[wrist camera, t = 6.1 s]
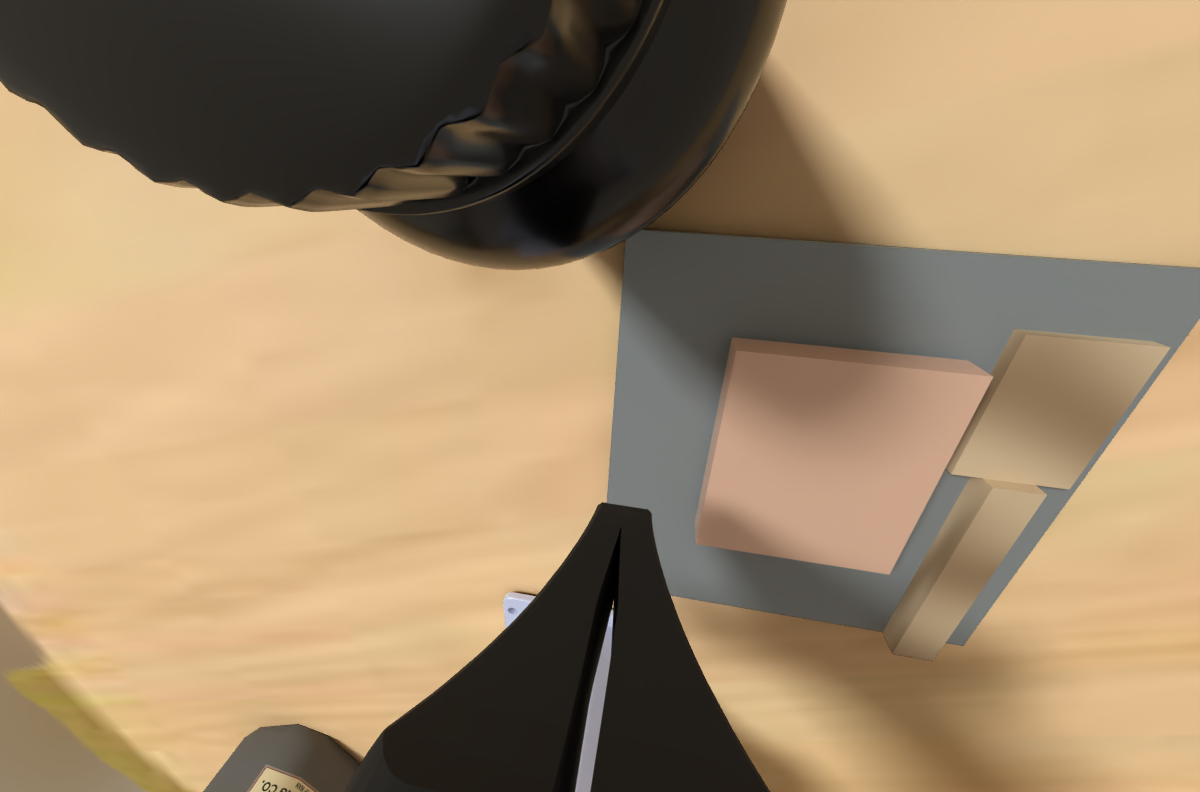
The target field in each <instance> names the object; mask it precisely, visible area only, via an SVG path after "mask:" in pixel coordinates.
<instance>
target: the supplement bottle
mask: <svg viewBox="0 0 1200 792" xmlns="http://www.w3.org/2000/svg"><path fill="white" fill-rule="evenodd" d="M786 2H787V0H0V82H1V83H2V84H3V85H4V86H5V87H6V88H7V89H8V91H10V92H12V93H14V94H15V95H17V96H19V97H21V98H23V99H25V100H27V101H29V102H32V103H36V104H38V105H40V106H42V107H44V108H45V109H46V110H47V111H48V112H49V113H50V114H51V115H52V116H53V117H54V118H55V119H56V120H57V121H58V122H59V123H60V124H61V125H62V126H63V127H64V128H65V129H66V130H67V131H68V132H69V133H71V134H72V135H73V136H74V137H75V138H76V139H77V140H78V141H79V142H80V143H81V144H82V145H84V146H87V147H90V148H93V149H97V150H100V151H103V152H108V153H113V154H118V155H119V156H121V157H122V158H124V159H125V160H126V161H128V162H129V163H130V164H131V165H132V166H133V167H134V168H135V169H137V170H138V171H139V172H141V173H142V174H144V175H145V176H146V177H148V178H149V179H151V180H152V181H154V182H156V183H160V184H164V185H169V186H174V187H181V188H198V189H200V190H201V191H202V192H204V193H205V194H207V195H209V196H211V197H213V198H215V199H217V200H219V201H221V202H224V203H228V204H233V205H238V206H245V207H270V206H286V207H289V208H293V209H298V210H303V211H310V212H324V211H338V210H351V209H357V210H358V211H360V212H361V213H362V214H364V215H365V216H367V217H368V218H369V219H371V220H372V221H374V222H375V223H377V224H378V225H379V226H381V227H382V228H384V229H385V230H387V231H389V232H391V233H392V234H394V235H396V236H397V237H399V238H401V239H403V240H404V241H406V242H408V243H410V244H413V245H415V246H417V247H419V248H421V249H423V250H425V251H427V252H430V253H432V254H435V255H438V256H441V257H443V258H446V259H449V260H453V261H456V262H460V263H464V264H468V265H473V266H479V267H486V268H492V269H505V270H526V269H541V268H546V267H552V266H558V265H563V264H566V263H570V262H573V261H577V260H581V259H584V258H586V257H589V256H591V255H594V254H596V253H599V252H601V251H604V250H606V249H609V248H611V247H613V246H614V245H616V244H618V243H620V242H622V241H624V240H626V239H628V238H630V237H631V236H633V235H634V234H636V233H637V232H639V231H640V230H642V229H643V228H645V227H646V226H648V225H649V224H651V223H652V222H653V221H655V220H656V219H657V218H658V217H659V216H661V215H662V214H663V213H664V212H666V211H667V210H668V209H669V208H670V207H671V206H673V205H674V204H675V203H676V202H677V201H678V200H679V199H680V198H681V197H682V196H683V195H684V194H685V193H686V192H687V191H688V190H689V189H690V188H691V186H692V185H693V184H694V183H695V182H696V181H697V179H698V178H699V177H700V176H701V175H702V174H703V172H704V171H705V170H706V169H707V168H708V166H709V165H710V164H711V162H712V161H713V159H714V158H715V157H716V155H717V154H718V152H719V151H720V150H721V148H722V147H723V145H724V144H725V142H726V141H727V139H728V137H729V136H730V134H731V132H732V131H733V129H734V127H735V126H736V124H737V122H738V121H739V119H740V117H741V116H742V114H743V112H744V110H745V108H746V106H747V104H748V101H749V99H750V97H751V95H752V93H753V91H754V89H755V87H756V85H757V83H758V81H759V78H760V75H761V73H762V70H763V68H764V65H765V63H766V60H767V58H768V55H769V53H770V50H771V48H772V45H773V43H774V40H775V37H776V34H777V30H778V27H779V24H780V21H781V18H782V15H783V11H784V8H785V5H786Z"/></svg>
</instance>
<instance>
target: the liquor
mask: <svg viewBox="0 0 1200 792" xmlns="http://www.w3.org/2000/svg"><path fill="white" fill-rule="evenodd" d="M359 765H360V764H359V763H358V762H357V761H356V760H355V759H354V758H352V757H351V756H350V755H349V754H348V753H347V752H346V751H344V750H343V749H342V748H341V747H340V746H339V745H337V744H336V743H335V742H334V741H333V740H332V739H331V738H329V737H328V736H327V735H325V734H322V733H320V732H317V731H314V730H312V729H309V728H307V727H304V726H301V725H299V724H295V725H283V726H271V727H260V728H259V729H257V730H256V731H254V732H253V733H251V734H250V735H248V736H247V737H245V738H244V739H243V741H242V742H241V743H240V745H239V746H238V747H237V748H236V750H235V751H234V752H233V754H232V755H231V756H230V758H229V759H228V760H227V761H226V763H225V764H224V765H223V767H222V768H221V769H220V771H219V772H218V773H217V774H216V776H215V777H214V778H213V780H212V781H211V782H210V784H209V785H208V786H207V787H206V789H205V790H204V791H203V792H344V790H345V788H346V786H347V784H348V782H349V781H350V779H351V777H352V776H353V774H354V772H355V771H356V769H357V768H358V767H359Z"/></svg>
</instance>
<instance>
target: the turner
mask: <svg viewBox="0 0 1200 792" xmlns="http://www.w3.org/2000/svg"><path fill="white" fill-rule="evenodd" d="M1170 348H1171V347H1168V346H1165V345H1162V344H1159V343H1156V342H1154V341H1144V340H1133V339H1121V338H1110V337H1099V336H1088V335H1076V334H1065V333H1054V332H1043V331H1031V330H1020V329H1014V330H1013V332H1012V334H1011V336H1010V338H1009V340H1008V342H1007V344H1006V346H1005V348H1004V349H1003V351H1002V353H1001V355H1000V357H999V359H998V361H997V363H996V365H995V367H994V369H993V371H992V373H991V374H990V375H992V376H993V379H992V380H991V382H990V384H989V386H988V388H987V390H986V392H985V394H984V396H983V398H982V400H981V401H980V403H979V405H978V407H977V409H976V411H975V413H974V415H973V417H972V419H971V420H970V422H969V424H968V426H967V428H966V430H965V432H964V434H963V436H962V438H961V440H960V441H959V443H958V445H957V447H956V449H955V451H954V453H953V455H952V457H951V459H950V460H949V462H948V464H947V466H946V469H947V470H948V472H949V473H950V474H952V475H960V476H968V477H970V478H969V480H968V482H967V483H966V485H965V487H964V489H963V490H962V492H961V494H960V496H959V497H958V499H957V501H956V503H955V505H954V506H953V508H952V510H951V512H950V513H949V515H948V517H947V519H946V520H945V522H944V524H943V526H942V528H941V529H940V531H939V533H938V535H937V536H936V538H935V540H934V542H933V543H932V545H931V547H930V549H929V551H928V552H927V554H926V556H925V558H924V559H923V561H922V563H921V565H920V566H919V568H918V570H917V572H916V574H915V575H914V577H913V579H912V581H911V582H910V584H909V586H908V588H907V589H906V591H905V593H904V595H903V597H902V598H901V600H900V602H899V604H898V605H897V607H896V609H895V611H894V612H893V614H892V616H891V618H890V620H889V621H888V623H887V625H886V627H885V628H884V630H883V634H884V637H885V639H886V641H887V643H888V646H889V648H890V650H891V653H892V654H894V655H900V656H906V657H911V658H917V659H923V660H928V661H933V660H934V659H935V658H936V656H937V655H938V653H939V652H940V650H941V649H942V647H943V646H944V644H945V643H946V642H947V640H948V639H949V637H950V636H951V634H952V633H953V631H954V630H955V628H956V627H957V626H958V624H959V623H960V621H961V620H962V618H963V617H964V615H965V614H966V612H967V611H968V610H969V608H970V607H971V605H972V604H973V602H974V601H975V599H976V598H977V596H978V595H979V594H980V592H981V591H982V589H983V588H984V586H985V585H986V583H987V582H988V580H989V579H990V578H991V576H992V575H993V573H994V572H995V570H996V569H997V567H998V566H999V564H1000V563H1001V562H1002V560H1003V559H1004V557H1005V556H1006V554H1007V553H1008V551H1009V550H1010V548H1011V547H1012V546H1013V544H1014V543H1015V541H1016V540H1017V538H1018V537H1019V535H1020V534H1021V532H1022V531H1023V530H1024V528H1025V527H1026V525H1027V524H1028V522H1029V521H1030V519H1031V518H1032V516H1033V515H1034V514H1035V512H1036V511H1037V509H1038V508H1039V506H1040V505H1041V503H1042V502H1043V500H1044V499H1045V498H1046V496H1047V494H1045V493H1044V492H1043V491H1042V490H1041V489H1040V488H1038V487H1037V486H1036V485H1038V486H1046V487H1054V488H1061V489H1069V490H1070V488H1071V487H1072V485H1073V484H1074V483H1075V481H1076V480H1077V478H1078V477H1079V476H1080V474H1081V473H1082V471H1083V470H1084V469H1085V467H1086V466H1087V464H1088V463H1089V462H1090V460H1091V459H1092V457H1093V456H1094V454H1095V453H1096V452H1097V450H1098V449H1099V447H1100V446H1101V445H1102V443H1103V442H1104V440H1105V439H1106V438H1107V436H1108V435H1109V433H1110V432H1111V431H1112V429H1113V428H1114V426H1115V425H1116V424H1117V422H1118V421H1119V419H1120V418H1121V417H1122V415H1123V414H1124V412H1125V411H1126V410H1127V408H1128V407H1129V405H1130V404H1131V403H1132V401H1133V400H1134V398H1135V397H1136V396H1137V394H1138V393H1139V391H1140V390H1141V389H1142V387H1143V386H1144V384H1145V383H1146V382H1147V380H1148V379H1149V377H1150V376H1151V375H1152V373H1153V372H1154V370H1155V369H1156V368H1157V366H1158V365H1159V363H1160V362H1161V361H1162V359H1163V358H1164V356H1165V355H1166V354H1167V352H1168V351H1169V349H1170Z"/></svg>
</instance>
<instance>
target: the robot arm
mask: <svg viewBox="0 0 1200 792" xmlns="http://www.w3.org/2000/svg"><path fill="white" fill-rule="evenodd" d="M613 601H614V608H613V610H611V609H612V605H613ZM503 605H504V616H505V628H506V629H505V630H504V631H503V632H502V633H501V634H500V635H499V636H498V637H497V638H496V639H495V640H494V641H493V642H492V643H491V644H489V645H488V646H487V647H486V648H485V649H484V650H483V651H482V652H481V653H480V654H479V655H477V656H476V657H475V658H474V659H473V660H472V661H470V662H469V663H468V664H467V665H466V666H465V667H463V668H462V669H461V670H460V671H459V672H458V673H456V674H455V675H454V676H453V677H452V678H451V679H449V680H448V681H447V682H446V683H445V684H444V685H442V686H441V687H440V688H439V689H437V690H436V691H435V692H434V693H432V694H431V695H430V696H428V697H427V698H426V699H424V700H423V701H422V702H420V703H419V704H418V705H416V706H415V707H414V708H412V709H411V710H410V711H408V712H407V713H406V714H404V715H403V716H402V717H400V718H399V719H398V720H396V721H395V722H394V723H392V724H391V725H390V726H388V727H387V728H386V729H385V730H384V731H383V732H382V733H381V735H380V736H379V737H378V739H377V740H376V741H375V743H374V744H373V746H372V747H371V748H370V750H369V751H368V753H367V754H366V756H365V757H364V759H363V761H362V762H361V764H360V765H359V767H358V768H357V769H356V771H355V772H354V774H353V776H352V777H351V779H350V781H349V782H348V784H347V786H346V788H345V790H344V792H770V791H769V789H768V787H767V786H766V784H765V783H764V781H763V779H762V778H761V776H760V775H759V773H758V771H757V770H756V768H755V767H754V765H753V763H752V762H751V760H750V758H749V757H748V755H747V753H746V751H745V750H744V748H743V746H742V745H741V743H740V741H739V740H738V738H737V736H736V734H735V733H734V731H733V729H732V728H731V726H730V724H729V722H728V720H727V718H726V716H725V714H724V713H723V711H722V709H721V707H720V705H719V703H718V701H717V699H716V698H715V696H714V694H713V692H712V690H711V688H710V686H709V684H708V683H707V681H706V679H705V676H704V674H703V672H702V670H701V668H700V666H699V664H698V662H697V660H696V658H695V655H694V653H693V651H692V649H691V646H690V644H689V642H688V640H687V637H686V635H685V633H684V630H683V628H682V625H681V623H680V620H679V618H678V615H677V612H676V610H675V607H674V604H673V601H672V599H671V596H670V593H669V590H668V587H667V584H666V580H665V577H664V574H663V570H662V567H661V563H660V560H659V556H658V552H657V547H656V543H655V538H654V532H653V525H652V513H651V512H650V511H649V510H648V509H642V508H636V507H629V506H623V505H616V504H609V503H603V502H602V503H601V504H599V505H598V506H597V508H596V511H595V513H594V515H593V517H592V519H591V521H590V522H589V524H588V526H587V528H586V529H585V531H584V532H583V534H582V536H581V537H580V539H579V540H578V542H577V543H576V545H575V546H574V548H573V549H572V551H571V552H570V553H569V555H568V556H567V558H566V559H565V561H564V562H563V563H562V565H561V566H560V567H559V569H558V570H557V571H556V572H555V574H554V575H553V576H552V577H551V579H550V580H549V581H548V583H547V584H546V585H545V586H544V588H543V589H542V590H541V591H540V592H539V593H538V595H537V596H532V595H526V594H521V593H515V592H510V593H507V594H506V596H505V598H504V601H503Z"/></svg>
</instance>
